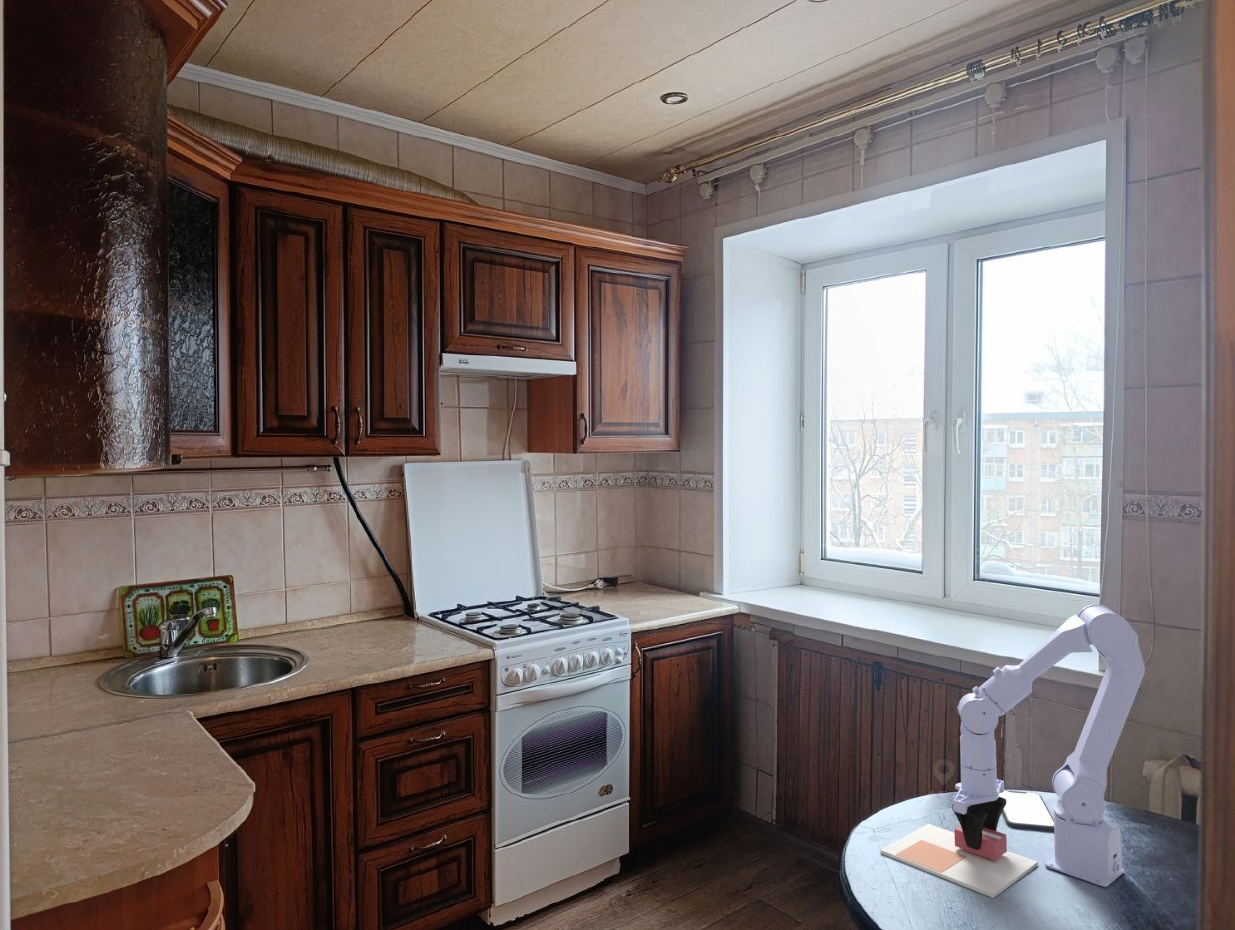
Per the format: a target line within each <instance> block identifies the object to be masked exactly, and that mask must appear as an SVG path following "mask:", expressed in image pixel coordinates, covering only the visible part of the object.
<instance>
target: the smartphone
mask: <svg viewBox="0 0 1235 930" xmlns="http://www.w3.org/2000/svg"><path fill="white" fill-rule="evenodd" d="M999 797H1002V798H1005V799H1006V803H1007V804H1006V806H1005V807H1004V809H1003V811H1002V813H1001V815H1002V818H1003V820H1004V822H1005V824H1006V826H1007V827H1009V828H1011V829H1016V830H1025V831H1026V830H1028V831H1036V832H1037V831H1038V832H1048V833H1049V832H1050V833H1054V816H1053V815H1052V814H1051V812H1050V810H1049V808H1048V807H1047V804H1046V803H1045V801H1044V798H1043V797H1042V796H1041V794H1039V793H1035V792H1030V791H1029V792H1027V791H1018V790H1006V789H1004V792H1003V793H999Z"/></svg>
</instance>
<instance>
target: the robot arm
mask: <svg viewBox="0 0 1235 930" xmlns="http://www.w3.org/2000/svg"><path fill="white" fill-rule="evenodd" d="M1138 639H1139V636H1138V633H1137V632H1136V631H1135V630H1134V628H1133V627H1132V626H1131V625H1130V623H1129V622H1128V621H1127V620H1126V619H1125V618H1124V617H1123V616H1121V615H1119V614H1117V613H1115V612H1114V611H1113V610H1112V609H1110V608H1108V607H1107V606H1105V605H1102V604H1089V605H1086V606H1084V607H1083V608H1082V609H1081V610H1079V612H1078V613H1077V615H1076V614H1074V615H1072V616H1070V617H1069V618H1068V619H1067V620H1066V621H1065V622H1063V623H1062V625H1060V626H1059V627H1058V628H1057V629H1056V630H1055V631H1054V632H1052V634H1051V635H1049V636H1048V637H1047V638H1046V639H1045V640H1044V641H1043V642H1042V643H1041V644H1040V645H1038V646H1037V647H1036V648H1035V649H1034V650H1033V651H1032V652H1031V653H1030V654H1029V655H1027V656H1026V657H1025V658H1024V659H1023V660H1022V661H1021V662H1020V663H1019V664H1018V665H1010V664H1007V665H1003V666H1002V668H1000V667H999V666H996V668H994V669H993V670H992V672H993V675H992V676H990V678H989V679H987V680H986V681H984V682H983V684H981V685H980V686H977V685H976V686H975V687H973V688H972V693H967V694H965V695H963V696H962V697H961V698H960V700H959V703H958V706H956V707H957V714H958V715H959V716H960V720H961V721H960V730H959V731H960V734H961V735H960V736H959V743H960V744H959V745H960V747H959V748H960V749H959V750H960V751H959V752H960V782H958V783H956V784H955V787H954V788H955V790H957V791H958V792H957V794H956V797H955V798H954V799H952V805H951V810H952V811H953V813H954V815H955V816H956V818H957V820H958V822H959V826H960V825H961V828H962V831H963V834H964V838H965V842H966V845H967V847H970V848H973V849H976V850H979V849H980V847H981V842H982V831H983V827H985V828H988V829H991V830H994V831H997V830H998V824H999V821H1000V818H1001V815H1002V811H1003V809H1004V807H1005V806H1006V804H1007V803H1006V799H1005V798H1002V797H999V793H1003V792H1004V790H1005V781H1004V780H1001V779H998V777H997V775H998V774H997V771H998V770H997V740H996V739H995V730H996V729H997V726H998V723H999V717H1001V716H1004V715H1005V714H1007V713H1008V712H1009V711H1010V710H1012V709H1014V707H1015V706H1017V705H1018V704H1019V703H1020V702H1022V701H1023V700H1024V699H1025V698H1027V696H1029V694H1031V693H1032V692H1033V682H1034V680H1036V679H1037V678H1039V677H1040V676H1041V675H1042V674H1044V673H1045V672H1046V671H1048V670H1050V669H1051V668H1052V667H1054V666H1055V665H1056V664H1058V663H1060V661H1061V660H1063V659H1064V658H1066V657H1067V656H1068V655H1070V654H1073V653H1093V651H1094V650H1093V649H1092V648H1091V645H1093V646H1094V647H1095V649H1096V650H1097V653H1098V654H1099V656H1100V657H1101V660H1102V661H1103V662H1104V664H1105V665H1106V670H1105V672H1104V675H1103V677H1102V679H1101V682H1100V684H1099V687H1098V690H1097V692H1096V694H1095V697H1094V700H1093V703H1092V705H1091V707H1090V711H1089V713H1088V715H1087V717H1086V721H1085V723H1084V725H1083V728H1082V730H1081V733H1080V736H1079V738H1078V741H1077V743H1076V746H1075V748H1074V751H1073V752H1072V753H1070V754H1069V755H1068V756H1067V757H1066V760H1065V762H1064V764H1063V765H1062V766H1061V767H1060V768H1058V769H1057V770H1056V771H1055V772H1054V774H1053V776H1052V779H1051V785H1052V786H1051V787H1052V790H1053V791H1054V793H1055V794H1056V796H1057V797H1058V800H1057V802H1056V804H1055V805H1054V806H1053V819H1054V832H1053V833H1054V836H1053V837H1054V838H1053V839H1054V841H1053V842H1054V856H1053V857H1052V858H1051V859H1049V860H1048V861H1046V862H1045V864H1044V866H1045V867H1046V868H1048V869H1051V870H1054V871H1057V872H1060V873H1062V874H1065V875H1069V876H1072V877H1075V878H1078V879H1081V880H1083V881H1086V882H1088V883H1092V884H1095V885H1097V886H1100V887H1102V888H1107V887H1109V886H1110V885H1111V884H1112V883H1113V882H1114V881H1116V879H1118V878H1119V877H1120V876H1122V874H1124V872H1125V870H1124V868H1123V853H1122V852H1123V851H1122V850H1123V849H1122V834H1121V829H1120V827H1119V826H1117V825H1115V824H1112V823H1110V822H1108V821H1107V820H1106V819H1104V813H1105V810H1106V803H1105V792H1106V790H1107V788H1108V787H1107V784H1108V781H1107V779H1108V777H1107V771H1108V770H1107V769H1108V768H1109V765H1110V762H1111V759H1112V756H1113V754H1114V751H1115V749H1116V746H1117V744H1118V741H1119V740H1120V739H1119V738H1120V736H1121V735H1122V731H1123V729H1124V726H1125V724H1126V721H1127V719H1128V716H1129V714H1130V712H1131V708H1132V706H1133V703H1134V701H1135V698H1136V696H1137V694H1138V691H1139V689H1140V685H1141V683H1142V681H1143V678H1144V675H1145V671H1146V666H1145V664H1144V659H1143V657H1142V655H1143V654H1142V651H1141V649H1140V646H1139V640H1138Z"/></svg>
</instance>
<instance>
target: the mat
mask: <svg viewBox="0 0 1235 930" xmlns="http://www.w3.org/2000/svg"><path fill="white" fill-rule="evenodd" d="M880 854H881V855H884V856H887V857H889V858H892V859H893V860H897V861H899V862H901V863H903V864H906V865H909V866H912V867H914V868H916V869H919V870H921V871H924V872H927V873H929V874H932V875H935V876H937V877H939V878H942V879H944V880H947V881H949V882H952V883H954V884H957V885H959V886H962V887H964V888H967V889H970V890H973V891H975V892H978V893H979V894H983V895H984V896H988V897H989V898H992V899H994V898H995V897H997V896H999V894H1001V893H1003V892H1004V891H1005V890H1006V889H1008V888H1009V887H1011V886H1012V885H1013V884H1015V883H1017V881H1019V880H1020V879H1021V878H1023V877H1024V876H1025V875H1027V874H1028V873H1029V872H1031V871H1032V870H1034V869H1035V868H1037V867H1038V866H1039V862H1038V861H1037V860H1034V859H1031V858H1029V857H1026V856H1023V855H1020V854H1018V853H1015V852H1011V851H1009V850H1007V852H1006V853H1004V854H1003V855H1002V856H1000V857H999V858H997V859H996V860H992V859H990V858H987V857H984V856H981V855H978V854H976V853H973V852H970V851H967V850H964V849H961V848H959V847H956V846H955V833H954V832H953V831H950V830H947V829H945V828H942V827H939V826H936V825H933V824H930V823H927V824H925V825H923V826H921V827H920V828H918V829H916V830H914V831H912V832H910V833H909V834H906V835H905V836H903V837H901V838H900V839H898V840H896V841H894V842H892V843H890V844H889V845H887V846H884V847H883V848H881V849H880Z"/></svg>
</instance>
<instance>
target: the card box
mask: <svg viewBox="0 0 1235 930" xmlns="http://www.w3.org/2000/svg"><path fill="white" fill-rule="evenodd" d="M954 833H955V846H956V847H959V848H961V849H964V850H967V851H970V852H973V853H976V854H978V855H981V856H984V857H987V858H990V859H992V860H996V859H997V858H999V857H1000V856H1002V855H1003V854H1004V853H1006V852H1007V851H1008V850H1007V849H1008V848H1007V841H1008V840H1007V834H1006V833H1004V832H1000V831H997V830H996V831H994V830H991V829H988V828H985V827H983V831H982V842H981V847H980V849H979V850H976V849H973V848H970V847H967V845H966V842H965V838H964V834H963V831H962V828H961V825H960V824H959V826H957V827H956V828H954Z"/></svg>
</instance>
